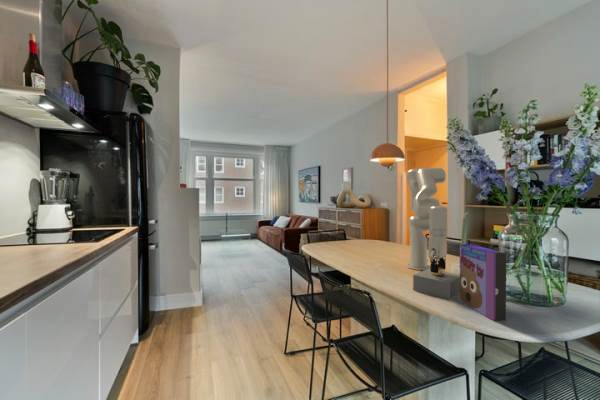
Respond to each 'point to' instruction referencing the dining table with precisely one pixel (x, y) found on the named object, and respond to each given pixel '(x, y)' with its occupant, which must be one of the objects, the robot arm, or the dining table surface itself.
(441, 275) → the brass pin
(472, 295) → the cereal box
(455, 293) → the block
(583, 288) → the dining table surface
